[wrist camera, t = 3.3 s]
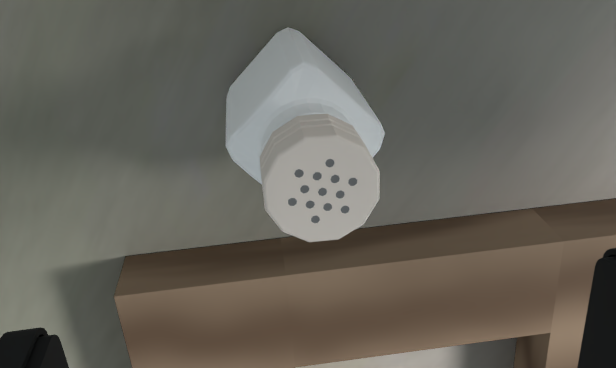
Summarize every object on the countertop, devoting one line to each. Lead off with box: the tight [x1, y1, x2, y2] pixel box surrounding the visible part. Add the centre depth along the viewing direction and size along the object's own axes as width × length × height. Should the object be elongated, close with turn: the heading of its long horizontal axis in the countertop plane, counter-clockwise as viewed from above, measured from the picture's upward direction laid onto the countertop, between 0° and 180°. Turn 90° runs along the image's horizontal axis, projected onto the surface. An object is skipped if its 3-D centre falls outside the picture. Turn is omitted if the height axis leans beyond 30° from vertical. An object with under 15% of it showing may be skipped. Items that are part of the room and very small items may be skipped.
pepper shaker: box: [226, 27, 385, 242], centre depth 20 cm, size 4×4×10 cm
